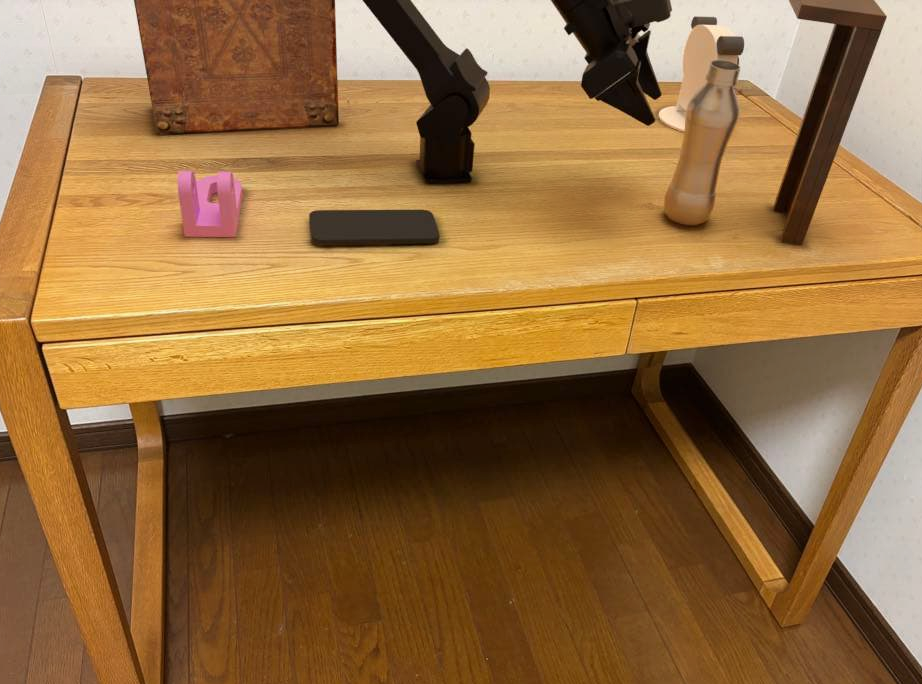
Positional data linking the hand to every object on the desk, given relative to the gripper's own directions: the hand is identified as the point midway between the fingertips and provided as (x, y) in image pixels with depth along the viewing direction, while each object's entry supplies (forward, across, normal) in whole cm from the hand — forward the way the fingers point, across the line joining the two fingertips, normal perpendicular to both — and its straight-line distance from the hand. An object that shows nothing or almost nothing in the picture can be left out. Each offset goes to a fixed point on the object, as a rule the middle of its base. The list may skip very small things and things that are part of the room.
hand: (655, 110), depth 104 cm
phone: (-11, -19, +30) cm, 38 cm away
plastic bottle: (+14, 0, +5) cm, 15 cm away
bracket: (-25, -22, +44) cm, 55 cm away
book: (-31, +5, +50) cm, 60 cm away
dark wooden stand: (+22, +4, -3) cm, 22 cm away
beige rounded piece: (+14, +36, +5) cm, 39 cm away
